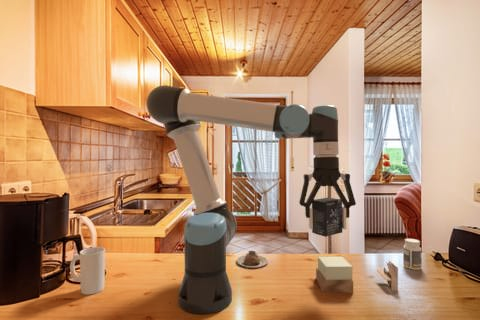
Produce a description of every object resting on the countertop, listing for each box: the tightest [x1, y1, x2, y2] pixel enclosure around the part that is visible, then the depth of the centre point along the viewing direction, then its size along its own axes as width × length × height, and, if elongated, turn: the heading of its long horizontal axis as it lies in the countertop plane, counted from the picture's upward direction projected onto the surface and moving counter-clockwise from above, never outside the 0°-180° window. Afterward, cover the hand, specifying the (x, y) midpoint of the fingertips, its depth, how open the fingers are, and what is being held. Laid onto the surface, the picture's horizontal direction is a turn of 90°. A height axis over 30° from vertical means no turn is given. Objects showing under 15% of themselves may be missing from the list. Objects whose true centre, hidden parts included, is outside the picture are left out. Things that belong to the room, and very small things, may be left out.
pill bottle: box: [402, 238, 423, 271], centre depth 99 cm, size 6×6×10 cm
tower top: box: [317, 256, 354, 280], centre depth 85 cm, size 8×8×4 cm
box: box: [311, 197, 343, 238], centre depth 84 cm, size 8×6×11 cm
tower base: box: [315, 267, 354, 294], centre depth 85 cm, size 9×9×4 cm
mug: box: [69, 246, 106, 296], centre depth 82 cm, size 10×7×12 cm, turn 91°
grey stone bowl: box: [236, 250, 269, 269], centre depth 103 cm, size 12×12×5 cm
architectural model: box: [376, 260, 399, 291], centre depth 85 cm, size 3×7×7 cm, turn 175°
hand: (327, 228), depth 84 cm, fingers closed on box, 9 cm apart
